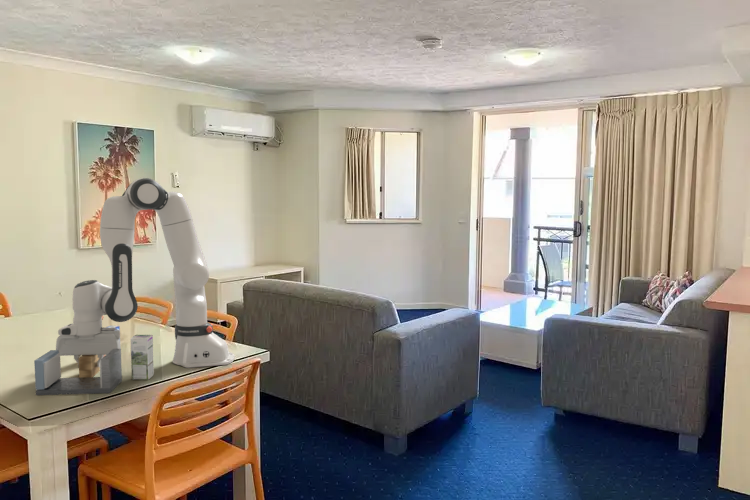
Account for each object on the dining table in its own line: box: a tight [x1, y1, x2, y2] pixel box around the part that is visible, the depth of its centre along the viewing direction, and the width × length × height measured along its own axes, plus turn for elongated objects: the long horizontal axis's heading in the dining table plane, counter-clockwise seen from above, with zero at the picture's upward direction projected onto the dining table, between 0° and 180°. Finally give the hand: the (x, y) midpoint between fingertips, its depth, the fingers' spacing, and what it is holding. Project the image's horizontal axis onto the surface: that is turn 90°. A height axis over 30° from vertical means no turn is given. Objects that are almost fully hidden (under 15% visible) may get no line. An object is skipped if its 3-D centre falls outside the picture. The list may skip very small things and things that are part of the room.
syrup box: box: [130, 334, 155, 381], centre depth 198 cm, size 6×6×14 cm
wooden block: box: [78, 355, 100, 378], centre depth 201 cm, size 4×8×7 cm, turn 7°
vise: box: [35, 348, 123, 396], centre depth 187 cm, size 22×12×11 cm, turn 97°
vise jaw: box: [33, 349, 62, 391], centre depth 186 cm, size 3×12×9 cm, turn 7°
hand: (89, 367), depth 201 cm, fingers closed on wooden block, 4 cm apart
